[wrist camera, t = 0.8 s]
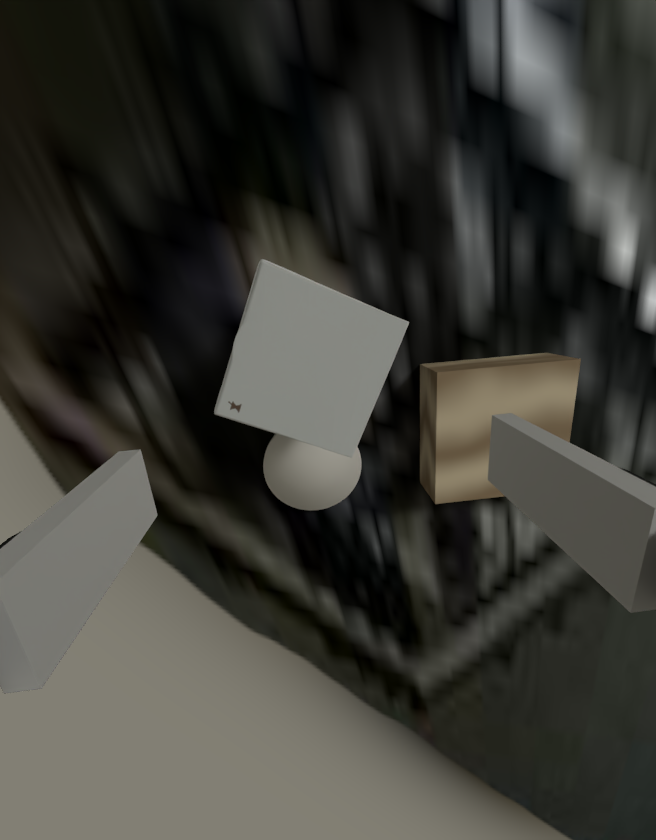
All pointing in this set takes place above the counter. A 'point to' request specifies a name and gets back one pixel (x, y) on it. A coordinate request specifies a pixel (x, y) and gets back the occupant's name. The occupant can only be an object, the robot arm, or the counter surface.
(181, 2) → the counter surface
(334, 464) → the cream smooth round part
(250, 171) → the counter surface
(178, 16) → the counter surface
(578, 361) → the maple block
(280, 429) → the supplement box
